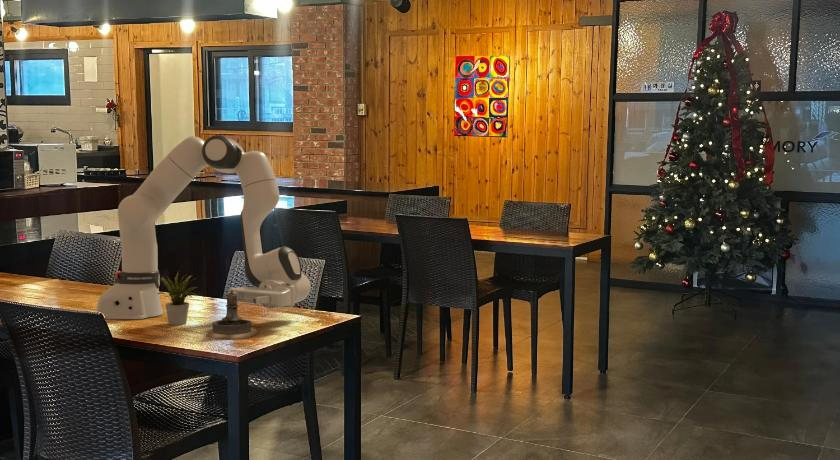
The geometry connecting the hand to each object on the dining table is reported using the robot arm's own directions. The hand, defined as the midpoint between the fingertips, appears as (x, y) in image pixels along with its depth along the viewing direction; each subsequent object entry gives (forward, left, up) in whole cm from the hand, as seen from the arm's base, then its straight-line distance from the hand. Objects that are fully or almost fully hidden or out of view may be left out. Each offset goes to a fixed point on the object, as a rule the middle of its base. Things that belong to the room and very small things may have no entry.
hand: (242, 299), depth 273 cm
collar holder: (-3, -3, -10) cm, 11 cm away
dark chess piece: (-3, -3, -9) cm, 10 cm away
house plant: (-20, +16, -10) cm, 27 cm away
